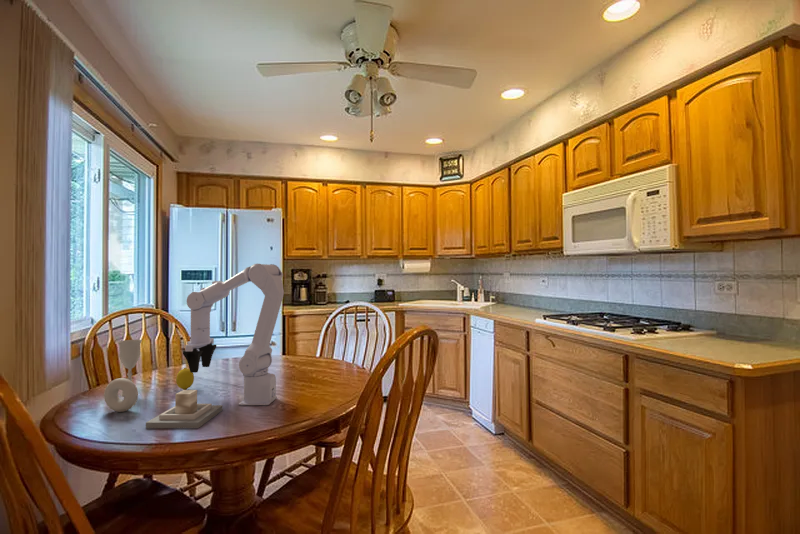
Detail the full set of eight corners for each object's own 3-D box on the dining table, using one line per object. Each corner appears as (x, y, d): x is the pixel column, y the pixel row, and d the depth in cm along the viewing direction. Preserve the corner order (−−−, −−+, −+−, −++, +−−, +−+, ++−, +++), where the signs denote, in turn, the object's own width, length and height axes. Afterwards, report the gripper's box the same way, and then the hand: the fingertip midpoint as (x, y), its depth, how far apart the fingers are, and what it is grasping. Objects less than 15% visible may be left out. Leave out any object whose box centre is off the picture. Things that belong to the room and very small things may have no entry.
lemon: (186, 393, 138) (186, 369, 138) (172, 392, 139) (172, 369, 139) (197, 388, 143) (197, 366, 143) (184, 387, 144) (184, 365, 144)
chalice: (112, 395, 135) (112, 342, 136) (132, 390, 142) (132, 339, 142) (126, 397, 133) (127, 343, 133) (146, 392, 139) (146, 340, 139)
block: (197, 410, 115) (197, 389, 115) (189, 415, 111) (189, 394, 111) (183, 410, 115) (183, 390, 115) (175, 415, 111) (175, 394, 111)
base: (222, 410, 120) (222, 401, 120) (198, 428, 106) (198, 417, 106) (176, 410, 120) (176, 401, 120) (145, 428, 106) (145, 417, 106)
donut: (100, 413, 118) (101, 379, 118) (110, 409, 121) (110, 376, 122) (131, 414, 117) (132, 379, 117) (140, 410, 120) (141, 376, 120)
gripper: (199, 325, 140) (199, 364, 139) (175, 331, 125) (175, 374, 125) (219, 325, 139) (219, 364, 139) (198, 331, 125) (197, 374, 125)
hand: (200, 369), depth 132 cm, fingers open, 7 cm apart
